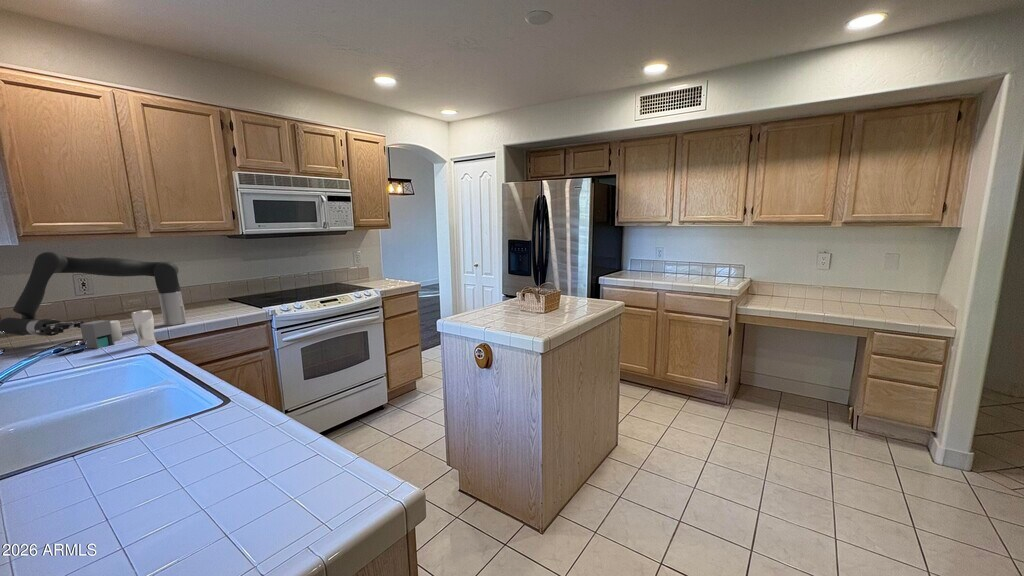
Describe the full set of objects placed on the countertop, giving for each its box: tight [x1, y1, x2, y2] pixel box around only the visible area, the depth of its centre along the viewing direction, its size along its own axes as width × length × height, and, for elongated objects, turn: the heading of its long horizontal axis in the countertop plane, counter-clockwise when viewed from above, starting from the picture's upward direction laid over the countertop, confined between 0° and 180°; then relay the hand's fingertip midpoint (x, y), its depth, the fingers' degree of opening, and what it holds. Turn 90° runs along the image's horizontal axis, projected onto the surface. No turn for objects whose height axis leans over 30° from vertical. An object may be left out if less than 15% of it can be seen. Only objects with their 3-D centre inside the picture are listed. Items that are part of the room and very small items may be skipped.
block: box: [97, 337, 110, 349], centre depth 180 cm, size 4×4×4 cm
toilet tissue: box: [109, 319, 123, 343], centre depth 190 cm, size 9×13×9 cm
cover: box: [80, 319, 115, 350], centre depth 180 cm, size 7×7×11 cm
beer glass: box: [131, 309, 157, 348], centre depth 180 cm, size 7×7×15 cm
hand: (74, 327), depth 181 cm, fingers open, 8 cm apart
